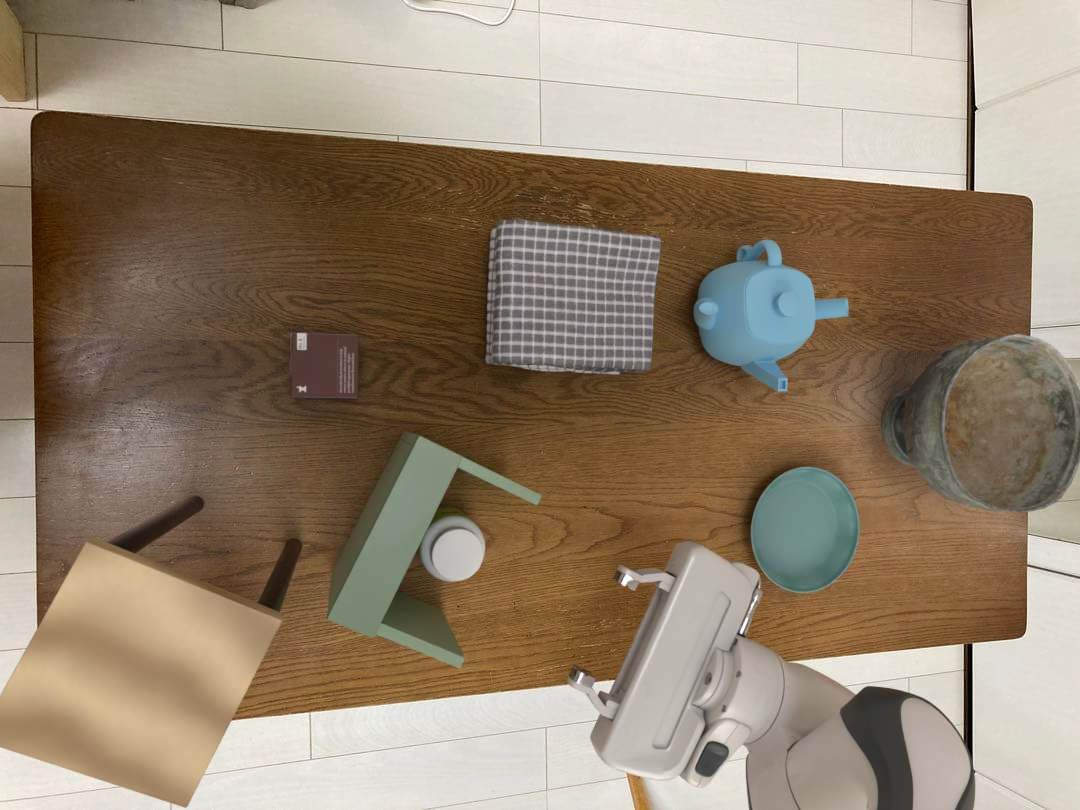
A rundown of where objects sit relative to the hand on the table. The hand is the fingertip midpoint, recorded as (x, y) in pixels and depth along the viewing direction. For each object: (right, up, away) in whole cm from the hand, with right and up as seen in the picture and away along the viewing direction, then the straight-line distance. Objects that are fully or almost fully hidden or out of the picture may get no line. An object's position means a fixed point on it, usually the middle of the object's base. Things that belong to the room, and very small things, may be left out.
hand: (594, 623), depth 61 cm
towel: (-2, +30, +17) cm, 34 cm away
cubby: (-17, +6, +13) cm, 22 cm away
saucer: (+26, +4, +24) cm, 36 cm away
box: (-26, +22, +11) cm, 36 cm away
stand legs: (-36, +3, +8) cm, 36 cm away
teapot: (+18, +28, +23) cm, 40 cm away
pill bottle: (-15, +5, +13) cm, 21 cm away
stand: (-29, +3, -18) cm, 34 cm away
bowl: (+42, +17, +29) cm, 54 cm away
